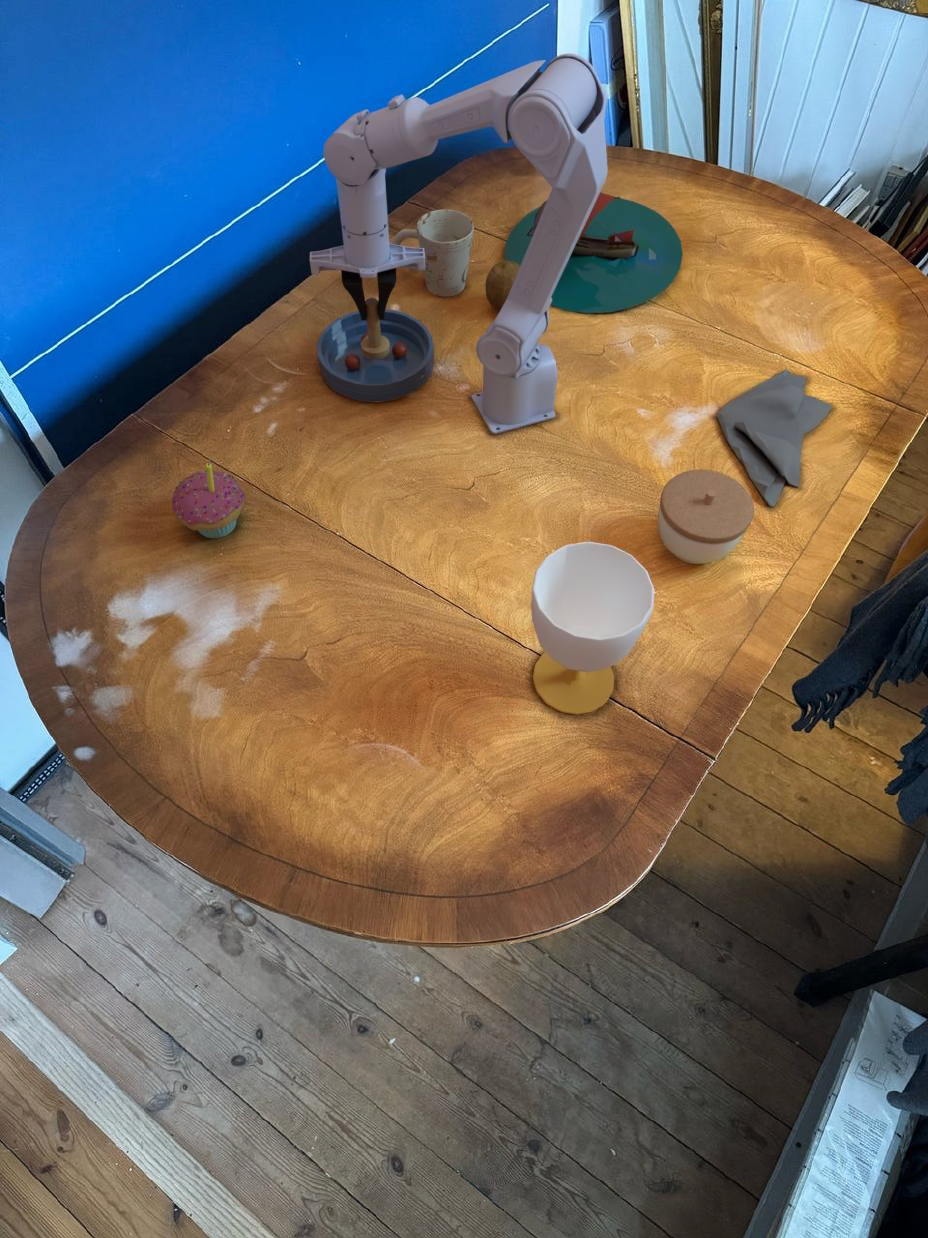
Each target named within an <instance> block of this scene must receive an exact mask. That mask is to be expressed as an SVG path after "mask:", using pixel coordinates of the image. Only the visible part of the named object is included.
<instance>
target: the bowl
mask: <svg viewBox="0 0 928 1238" xmlns="http://www.w3.org/2000/svg"><path fill="white" fill-rule="evenodd" d="M380 329H381V335H382V336H384V337H386V338H387V339H388V340H389V343H390V352H389V354H388V355H387V356H386V357H385V358H383V359H379V360H371V359H368V358H366V357H365V356H363V354H362V351H361V338H362V336H363V335H364V334H366V333H368V331H367V320H361V316H360V313H359V310H357V311H353V312H349V313H347V314H344V315H342V316H340V317H338V318H337V319H335V320H334V321H332V322H331V323H329V324H328V325H327V326H326V327H325V329H323V331H322V332H321V334H320V335H319V337H318V341H317V343H316V355H317V362H318V368H319V372H320V374H321V378H323V381H324V382H325V384H326V385H328V386H329V388H330V389H331V390H333V391H334V392H336V393H338V394H339V395H342V396H344V397H346V398H349V399H352V400H356V401H360V402H368V403H369V402H370V403H380V402H389V401H393V400H397V399H401V398H405V397H406V396H408V395H411V394H412V393H414V392H416V391H417V390H418V389H420V388H421V387H422V386H423V385H424V384H426V382H427V381H428V379H429V378H430V377H431V375H432V373H433V369H434V365H435V347H434V346H435V345H434V339H433V336H432V334H431V332H430V330H429V329H428V327H427V326H426V325H425V324H424V323H422V322H421V320H419V319H418V318H415V317H413V316H412V315H410V314H408V313H405V312H402V311H398V310H394V309H387V308H386V309H385V316H384V320H380ZM396 343H403V344H405V345H406V347H407V354H406V356H405V357H404V358H401V359H398V358H396V357H395V356H394V355H393V354H392V347H393V346H394V344H396ZM350 354H355V355H357V356H358V357H359V359H360V366H359V368H358V369H356V370H349V369H348V368H347V367H346V365H345V358H346V357H347V356H348V355H350Z"/></svg>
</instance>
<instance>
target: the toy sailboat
mask: <svg viewBox="0 0 928 1238" xmlns="http://www.w3.org/2000/svg"><path fill="white" fill-rule="evenodd" d="M546 203H547V200H545V201H544V202H543V203H541V205H540V206H538V207H537V208H535V209H533V210H531V211H530V212H529V213H527V214H525V215H524V216H523V217H522V218H521V219H520V220H519V221H518V222H517V223H516V224H515V226H514V227H513V228H512V229H511V230H510V232H509V233H508V237H507V240H506V242H505V246H504V261H513V262H515V263H517V264H519V266H521V263H522V261H523V259H524V256H525V254H526V251H527V249H528V246H529V244H530V242H531V239H532V237H533V234H534V232H535V229H536V227H537V225H538V222H539V220H540V217H541V215H542V212H543V210H544V208H545V205H546ZM682 260H683V247H682V239H681V238H680V237H679V235H678V233H677V231H676V229H675V227H674V226H673V225H672V224H671V223H670V222H669V221H668V220H667V219H666V218H665V217H664V216H663V215H662V214H660V213H659V212H657V211H656V210H654V209H652V208H650V207H649V206H646V205H644V204H641V203H640V202H639V203H638V202H636V201H632V200H629V199H625V198H622V197H620V196H613V195H611V194H607V193H604V192H602V191H601V192H600V194H599V196H598V198H597V200H596V202H595V204H594V206H593V209H592V211H591V213H590V215H589V217H588V219H587V221H586V224H585V226H584V228H583V230H582V232H581V234H580V236H579V239H578V241H577V243H576V245H575V247H574V249H573V251H572V254H571V256H570V258H569V260H568V262H567V264H566V266H565V269H564V271H563V273H562V275H561V277H560V279H559V281H558V283H557V286H556V288H555V290H554V292H553V294H552V296H551V298H552V302H551V304H550V307H554V308H557V309H560V310H563V311H568V312H576V313H584V314H596V313H600V314H601V313H603V314H604V313H612V312H617V311H622V310H627V309H630V308H633V307H636V306H639V305H641V304H643V303H645V302H647V301H649V300H652V299H653V298H655V297H657V296H658V295H660V294H661V293H663V292H664V291H665V290H667V288H669V287H670V285H671V284H673V282H674V280H675V278H676V277H677V275H678V273H679V272H680V270H681V266H682Z"/></svg>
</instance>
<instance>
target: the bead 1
mask: <svg viewBox="0 0 928 1238" xmlns="http://www.w3.org/2000/svg"><path fill="white" fill-rule="evenodd" d="M345 365H346V367H347V368H348V369H349V370H356V369H358V368H359V366H360V359H359V357H358V356H357V355H355V354H350V355H348V356H347V357H346V358H345Z"/></svg>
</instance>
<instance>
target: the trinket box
mask: <svg viewBox="0 0 928 1238" xmlns="http://www.w3.org/2000/svg"><path fill="white" fill-rule="evenodd" d="M659 500H660V501H659V506H658V510H657V529H658V534H659V536H660V539H661V542H662V543H663V545H664V546H665V548H666V549H667V550H668V551H669V552H670V553H671V554H672V555H674V556H675V557H676V558H677V559H679V560H680V561H683V562H684V563H688V564H692V565H693V564H694V565H700V564H711V563H714V562H718V561H719V560H722V559H724V558H725V557H726V556H728V555H729V554H731V553H732V552H733V551H734V550H735V549H736V548H737V547H738V546H739V544H740V543H741V541H742V540H743V538H744V536H745V534H746V532H747V530H748V529H749V527H750V525H751V524H752V522H753V519H754V517H755V505H754V501H753V498H752V496H751V495H750V493H749V492H748V490H747V489H746V488H745V486H743V484H741V483H740V482H739V481H738V480H737V479H734V478H733V477H731V476H730V475H727V474H725V473H724V472H723V473H722V472H720V471H716V470H712V469H703V468H702V469H700V468H699V469H691V470H686V471H683V472H680V473H678V474H676V475H674V476H673V477H671V478H670V480H668V481H667V483H666V484H665V485H664V487H663V489H662V491H661V495H660V499H659Z"/></svg>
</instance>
